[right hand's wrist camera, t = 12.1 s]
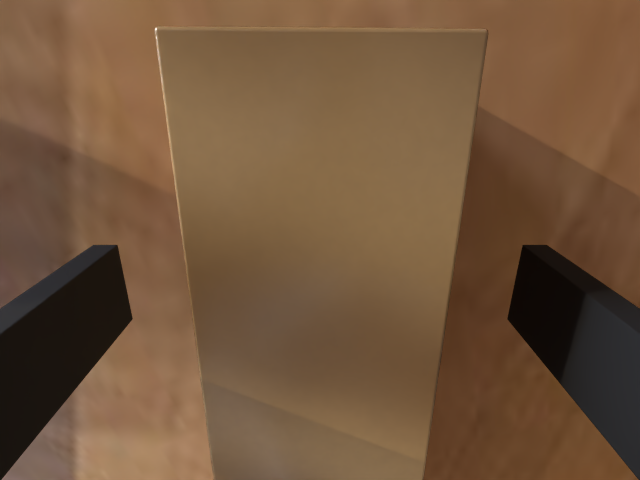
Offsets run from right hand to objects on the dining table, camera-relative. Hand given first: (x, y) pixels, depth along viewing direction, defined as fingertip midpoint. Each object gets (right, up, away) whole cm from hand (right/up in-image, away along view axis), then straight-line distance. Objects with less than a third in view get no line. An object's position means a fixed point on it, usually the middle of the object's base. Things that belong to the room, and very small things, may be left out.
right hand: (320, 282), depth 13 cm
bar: (0, -24, +13) cm, 28 cm away
